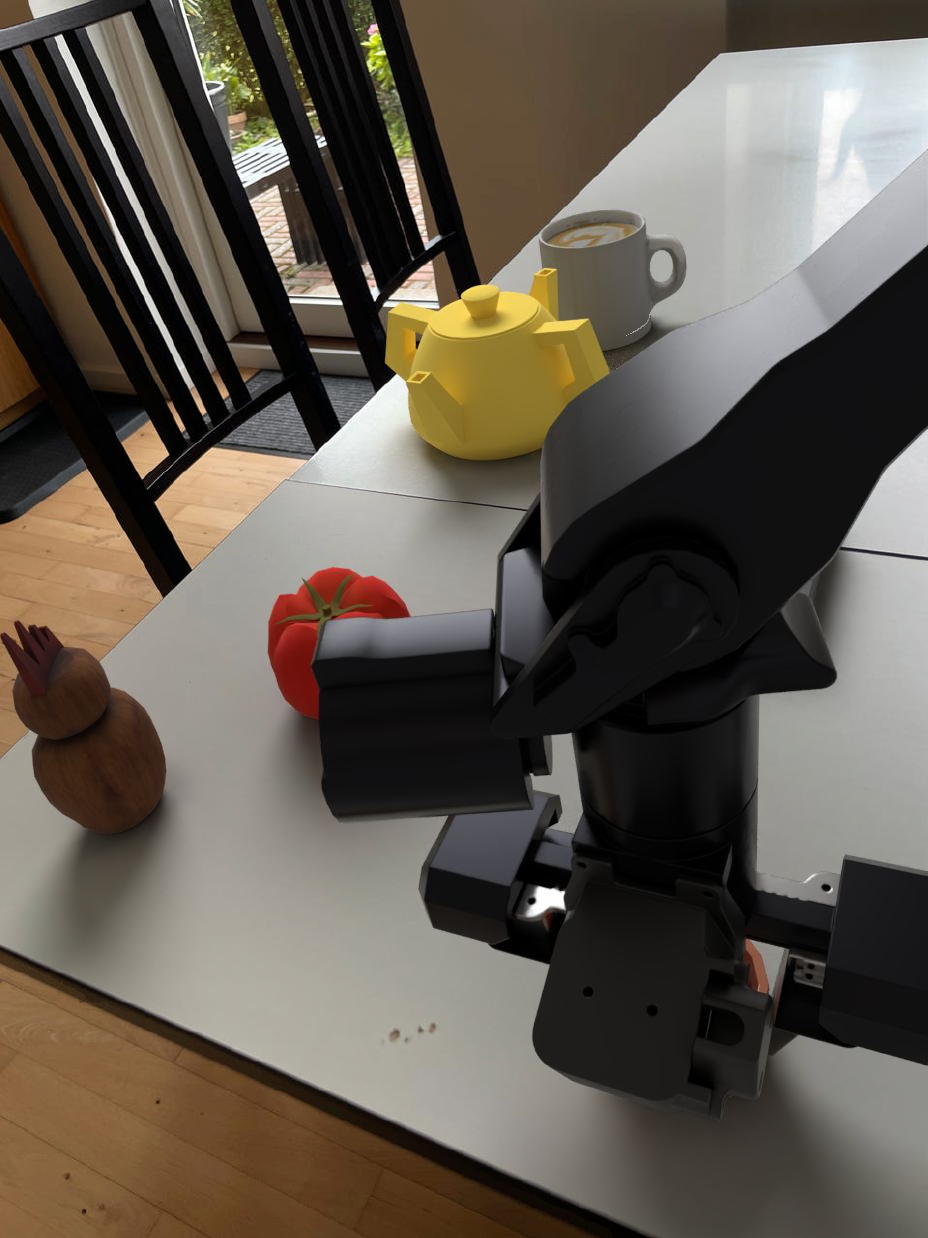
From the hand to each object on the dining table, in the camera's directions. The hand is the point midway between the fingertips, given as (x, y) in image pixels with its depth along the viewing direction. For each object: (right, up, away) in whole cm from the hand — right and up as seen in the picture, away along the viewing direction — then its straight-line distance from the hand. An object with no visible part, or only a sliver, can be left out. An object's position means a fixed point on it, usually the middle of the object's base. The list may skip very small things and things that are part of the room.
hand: (683, 1019), depth 42 cm
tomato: (-16, +12, +22) cm, 30 cm away
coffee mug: (+6, +45, +57) cm, 73 cm away
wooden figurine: (-29, +6, +17) cm, 34 cm away
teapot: (-6, +34, +46) cm, 57 cm away
